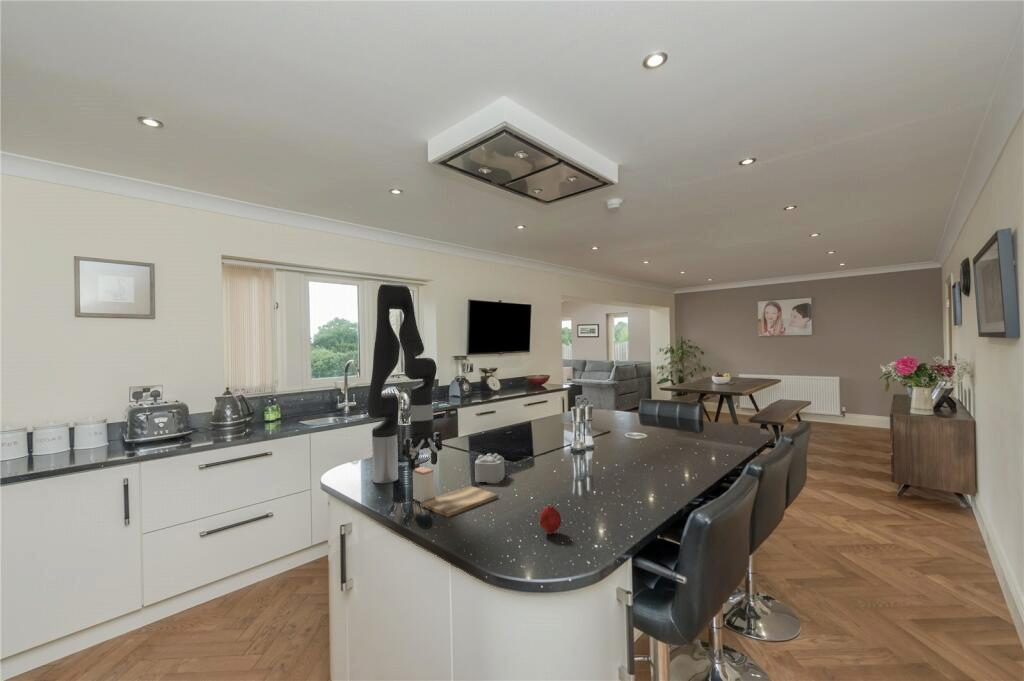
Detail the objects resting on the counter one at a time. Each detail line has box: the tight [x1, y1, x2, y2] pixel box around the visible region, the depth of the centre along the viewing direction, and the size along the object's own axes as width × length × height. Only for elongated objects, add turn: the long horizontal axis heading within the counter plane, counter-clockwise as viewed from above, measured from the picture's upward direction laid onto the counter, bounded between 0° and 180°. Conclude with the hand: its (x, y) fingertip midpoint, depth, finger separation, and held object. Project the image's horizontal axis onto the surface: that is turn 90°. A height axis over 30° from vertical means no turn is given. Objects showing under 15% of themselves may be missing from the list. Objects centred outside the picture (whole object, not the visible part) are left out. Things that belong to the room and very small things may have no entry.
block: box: [412, 466, 435, 503], centre depth 143 cm, size 6×4×10 cm, turn 47°
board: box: [419, 485, 499, 518], centre depth 141 cm, size 14×21×1 cm, turn 137°
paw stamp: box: [474, 452, 505, 484], centre depth 166 cm, size 10×13×9 cm
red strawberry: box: [538, 503, 562, 535], centre depth 116 cm, size 6×6×8 cm
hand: (423, 466), depth 143 cm, fingers open, 8 cm apart
